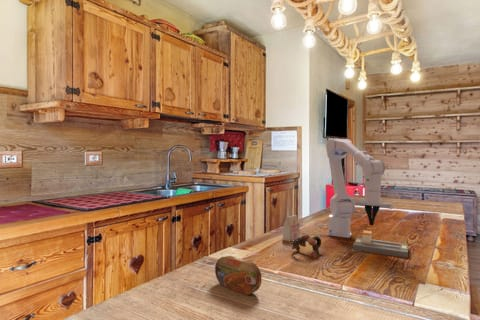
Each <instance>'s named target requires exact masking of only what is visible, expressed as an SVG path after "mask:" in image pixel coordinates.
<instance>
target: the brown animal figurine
mask: <svg viewBox="0 0 480 320" xmlns="http://www.w3.org/2000/svg"><path fill="white" fill-rule="evenodd" d="M306 242H307V243H308V244H309V246H311V248H312V250H313V251H312V252H310V255H311V256H312V259H313V260H314V259H315V258H316V259H317V258H318V257H319V256H320V250H319V249H320V247H321V245H322V239H321V238H320V237H319V236H318V235H317V236H316V235H315V236H313V237H311V236H310V235H309V234H304V235H302V236H299V238H298V239H297V240H294V241H291V245H292V247H291V249H292V250H294V249H295V251H296V252H298V251H300V250H301V247H303V248H306V247H307V244H306ZM300 246H301V247H300Z"/></svg>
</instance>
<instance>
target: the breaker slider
mask: <svg viewBox="0 0 480 320" xmlns="http://www.w3.org/2000/svg"><path fill="white" fill-rule="evenodd" d="M372 232H373V231H372V230H363V232H362V237H361V238H362V242H367V243H371V239H372V235H373V233H372Z"/></svg>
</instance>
